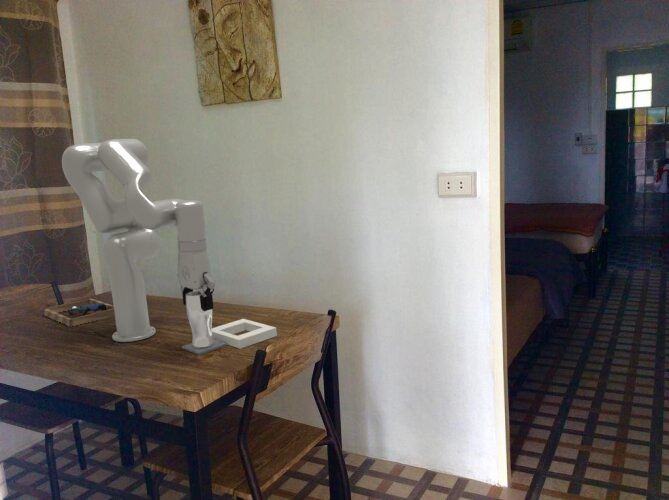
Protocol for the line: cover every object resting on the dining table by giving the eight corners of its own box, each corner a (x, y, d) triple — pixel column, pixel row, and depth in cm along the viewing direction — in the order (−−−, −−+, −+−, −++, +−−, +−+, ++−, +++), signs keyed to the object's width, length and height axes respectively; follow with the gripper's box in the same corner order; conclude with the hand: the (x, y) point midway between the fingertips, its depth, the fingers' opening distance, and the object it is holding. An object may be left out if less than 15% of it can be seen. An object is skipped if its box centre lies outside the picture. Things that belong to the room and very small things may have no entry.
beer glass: (210, 349, 165) (204, 295, 163) (186, 349, 167) (180, 296, 164) (219, 340, 172) (214, 289, 169) (197, 340, 174) (191, 289, 171)
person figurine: (62, 322, 213) (94, 320, 203) (58, 310, 212) (90, 307, 202) (88, 313, 222) (120, 311, 212) (85, 302, 221) (117, 298, 211)
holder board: (207, 338, 177) (206, 329, 177) (244, 326, 186) (243, 318, 186) (240, 348, 166) (239, 340, 165) (276, 335, 175) (276, 327, 174)
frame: (44, 315, 216) (43, 309, 215) (91, 304, 227) (90, 298, 227) (70, 327, 199) (69, 320, 198) (120, 314, 210) (119, 307, 210)
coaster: (181, 348, 170) (181, 346, 170) (209, 339, 176) (209, 337, 176) (199, 354, 163) (198, 352, 163) (227, 345, 169) (226, 343, 169)
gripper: (164, 245, 168) (170, 304, 171) (197, 251, 156) (203, 315, 159) (187, 241, 173) (193, 298, 176) (222, 247, 161) (227, 309, 164)
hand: (198, 306), depth 168 cm, fingers open, 9 cm apart
